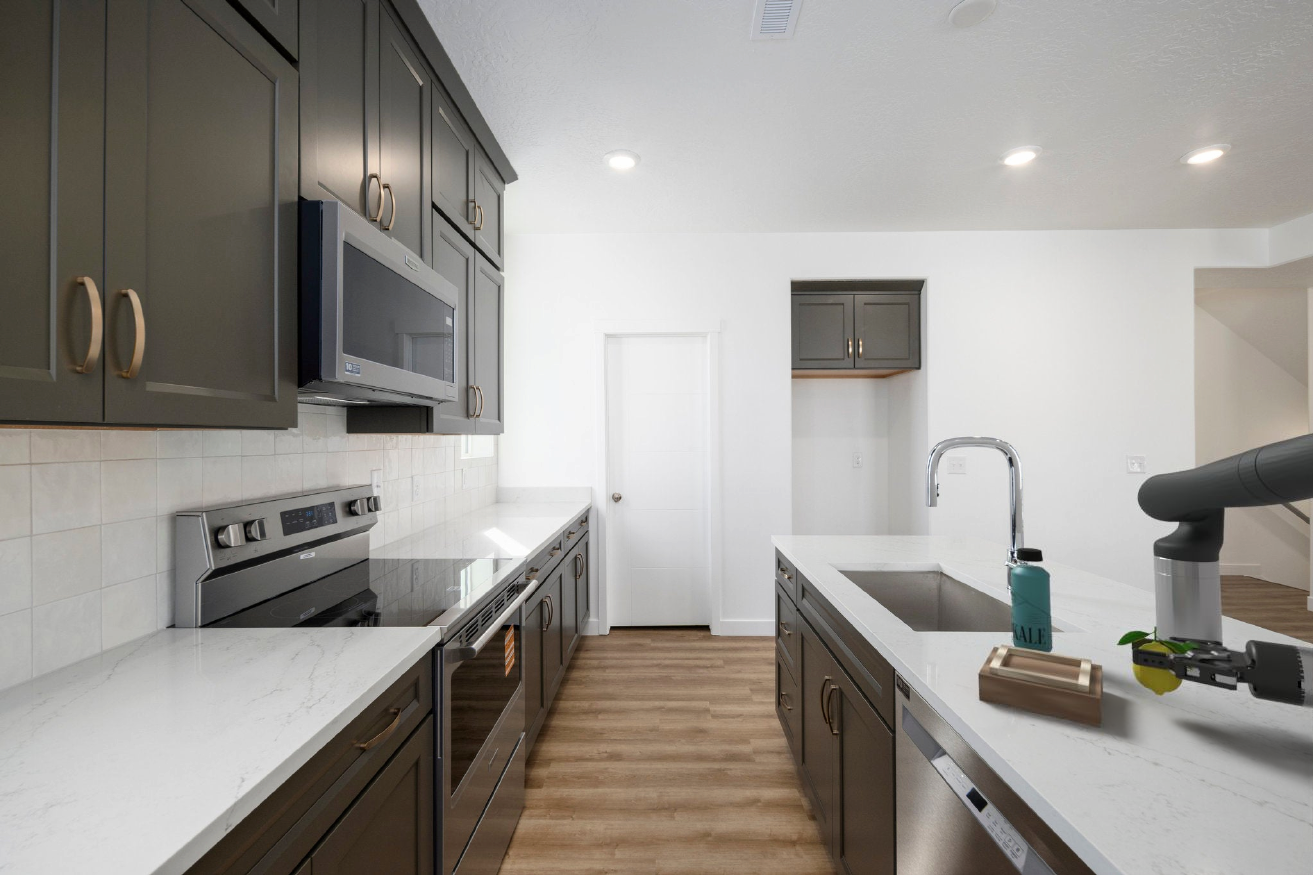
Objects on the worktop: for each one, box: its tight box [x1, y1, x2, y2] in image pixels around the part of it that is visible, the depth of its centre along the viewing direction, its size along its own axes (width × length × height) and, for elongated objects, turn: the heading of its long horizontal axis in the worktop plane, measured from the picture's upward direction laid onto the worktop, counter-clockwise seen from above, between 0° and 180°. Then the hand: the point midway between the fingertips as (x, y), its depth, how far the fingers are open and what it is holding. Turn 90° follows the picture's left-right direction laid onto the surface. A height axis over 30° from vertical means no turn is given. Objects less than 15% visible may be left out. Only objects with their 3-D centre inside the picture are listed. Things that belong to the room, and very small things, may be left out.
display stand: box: [977, 644, 1104, 728], centre depth 90 cm, size 15×15×5 cm
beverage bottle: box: [1010, 547, 1054, 653], centre depth 107 cm, size 6×7×20 cm
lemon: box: [1116, 625, 1188, 696], centre depth 83 cm, size 7×6×10 cm
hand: (1132, 649), depth 85 cm, fingers closed on lemon, 5 cm apart
